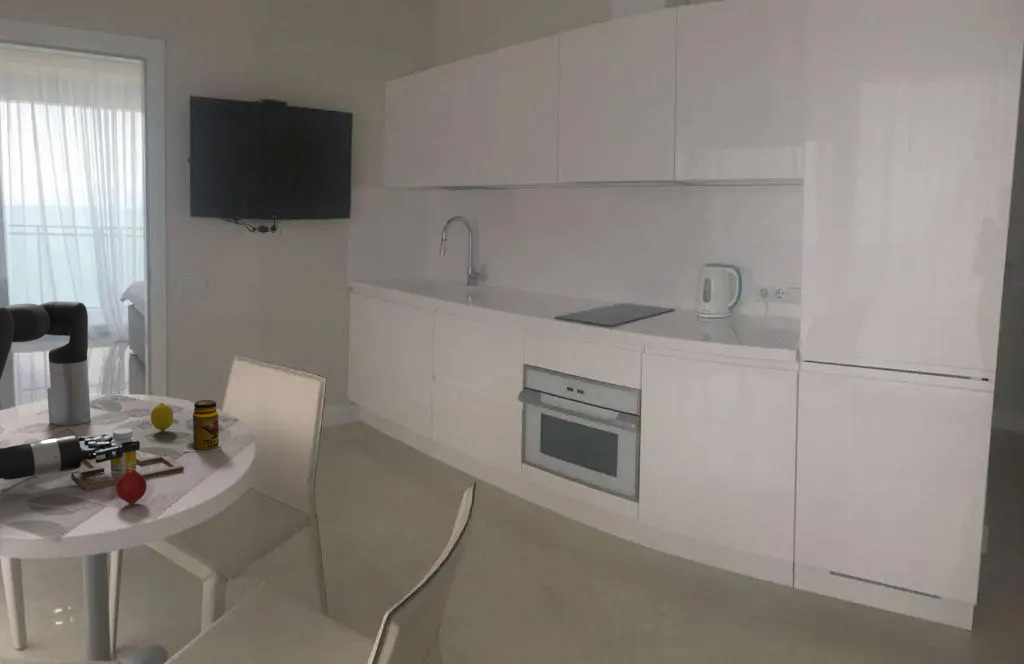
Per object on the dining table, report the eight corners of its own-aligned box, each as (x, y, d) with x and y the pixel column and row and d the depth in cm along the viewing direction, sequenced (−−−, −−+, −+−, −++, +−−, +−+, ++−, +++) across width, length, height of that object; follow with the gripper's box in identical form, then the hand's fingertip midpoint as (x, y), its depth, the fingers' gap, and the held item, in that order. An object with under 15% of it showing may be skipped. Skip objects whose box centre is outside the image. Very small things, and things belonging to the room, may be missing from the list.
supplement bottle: (110, 475, 185) (108, 435, 183) (111, 467, 189) (109, 428, 188) (136, 473, 187) (135, 433, 185) (136, 465, 192) (135, 426, 190)
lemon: (177, 429, 220) (176, 400, 219) (167, 435, 215) (166, 406, 213) (158, 428, 221) (157, 399, 219) (147, 433, 215) (146, 404, 214)
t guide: (55, 461, 192) (55, 457, 192) (147, 445, 206) (147, 441, 206) (86, 490, 175) (86, 486, 175) (183, 470, 190) (183, 466, 189)
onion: (123, 498, 172) (121, 462, 171) (151, 498, 173) (149, 462, 171) (112, 509, 166) (110, 472, 165) (141, 509, 167) (139, 472, 166)
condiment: (218, 451, 204) (217, 405, 202) (182, 452, 202) (181, 406, 200) (222, 442, 211) (221, 397, 209) (187, 443, 209) (186, 398, 207)
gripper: (62, 447, 171) (145, 433, 183) (43, 431, 182) (123, 418, 193) (64, 481, 173) (146, 465, 184) (45, 463, 183) (124, 448, 194)
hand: (134, 441), depth 189 cm, fingers closed on supplement bottle, 5 cm apart
